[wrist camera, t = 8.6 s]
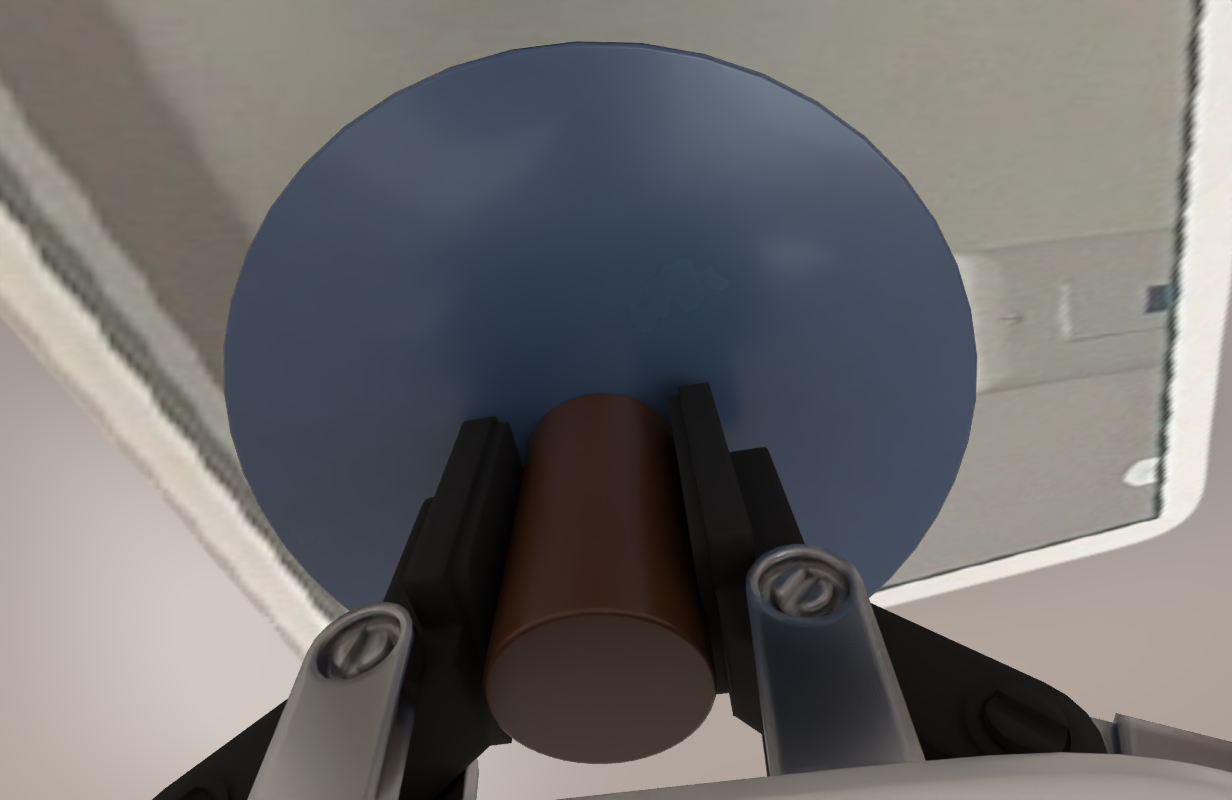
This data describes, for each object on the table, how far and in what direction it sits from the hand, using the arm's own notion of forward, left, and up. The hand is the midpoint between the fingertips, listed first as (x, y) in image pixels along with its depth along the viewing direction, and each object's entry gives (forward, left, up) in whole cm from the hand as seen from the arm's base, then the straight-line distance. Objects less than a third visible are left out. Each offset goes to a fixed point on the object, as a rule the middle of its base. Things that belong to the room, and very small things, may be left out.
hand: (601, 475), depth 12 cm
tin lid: (0, 0, -1) cm, 1 cm away
